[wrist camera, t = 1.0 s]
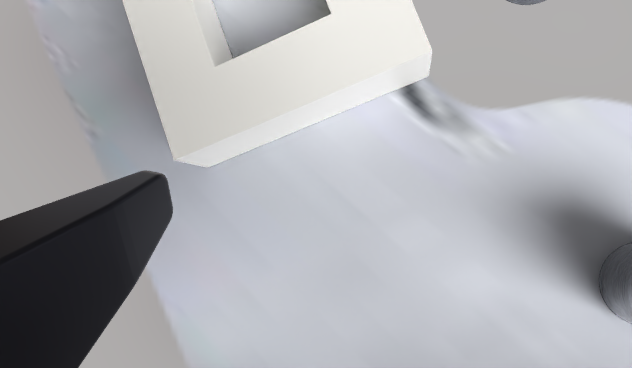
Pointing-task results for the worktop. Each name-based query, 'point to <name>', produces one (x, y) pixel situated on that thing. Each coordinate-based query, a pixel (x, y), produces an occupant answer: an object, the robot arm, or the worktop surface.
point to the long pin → (525, 1)
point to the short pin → (618, 282)
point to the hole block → (269, 71)
